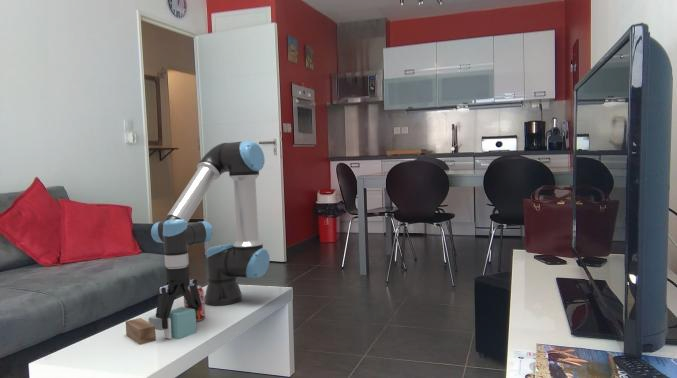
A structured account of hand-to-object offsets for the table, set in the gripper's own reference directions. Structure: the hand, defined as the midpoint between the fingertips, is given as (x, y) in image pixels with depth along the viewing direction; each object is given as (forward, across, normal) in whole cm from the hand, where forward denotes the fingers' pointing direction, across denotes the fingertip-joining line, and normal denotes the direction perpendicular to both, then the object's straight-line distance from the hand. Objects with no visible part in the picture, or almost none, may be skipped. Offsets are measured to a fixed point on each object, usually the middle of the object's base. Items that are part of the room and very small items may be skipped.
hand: (180, 333), depth 169 cm
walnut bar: (0, +9, -9) cm, 13 cm away
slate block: (0, -2, -13) cm, 13 cm away
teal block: (0, 0, 0) cm, 0 cm away
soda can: (0, -13, -9) cm, 16 cm away
